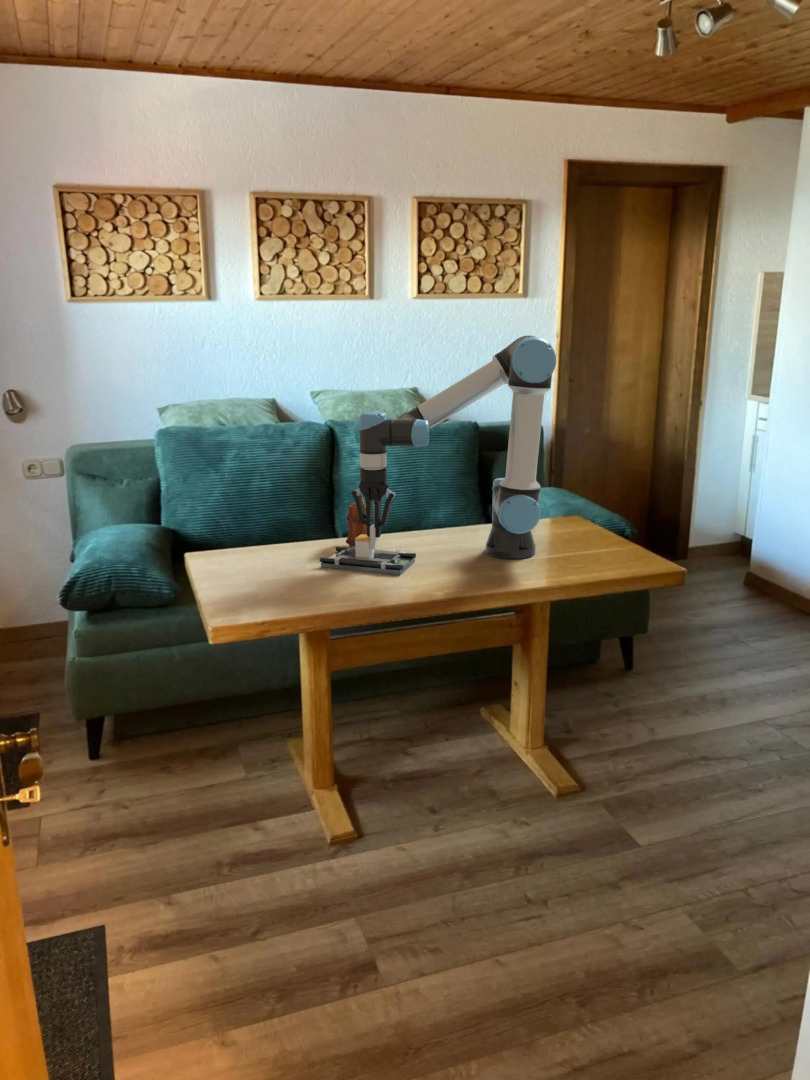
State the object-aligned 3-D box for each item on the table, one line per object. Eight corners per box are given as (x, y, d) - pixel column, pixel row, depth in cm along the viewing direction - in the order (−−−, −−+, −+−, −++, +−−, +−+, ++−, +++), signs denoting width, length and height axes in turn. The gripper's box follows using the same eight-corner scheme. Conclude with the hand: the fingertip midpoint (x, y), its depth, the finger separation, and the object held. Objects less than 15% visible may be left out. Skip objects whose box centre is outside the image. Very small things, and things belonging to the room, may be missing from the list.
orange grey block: (374, 556, 251) (374, 535, 249) (368, 561, 246) (368, 539, 245) (361, 555, 252) (361, 534, 251) (355, 560, 248) (354, 538, 246)
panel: (416, 561, 252) (416, 551, 252) (401, 575, 239) (401, 565, 239) (337, 554, 260) (337, 545, 259) (319, 568, 247) (318, 557, 246)
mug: (371, 553, 261) (371, 505, 257) (345, 553, 261) (344, 505, 257) (374, 541, 275) (373, 495, 271) (349, 540, 275) (348, 495, 271)
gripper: (399, 466, 243) (399, 546, 249) (356, 463, 247) (357, 542, 253) (391, 471, 236) (391, 553, 242) (346, 468, 240) (348, 549, 246)
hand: (374, 547), depth 248 cm, fingers closed
